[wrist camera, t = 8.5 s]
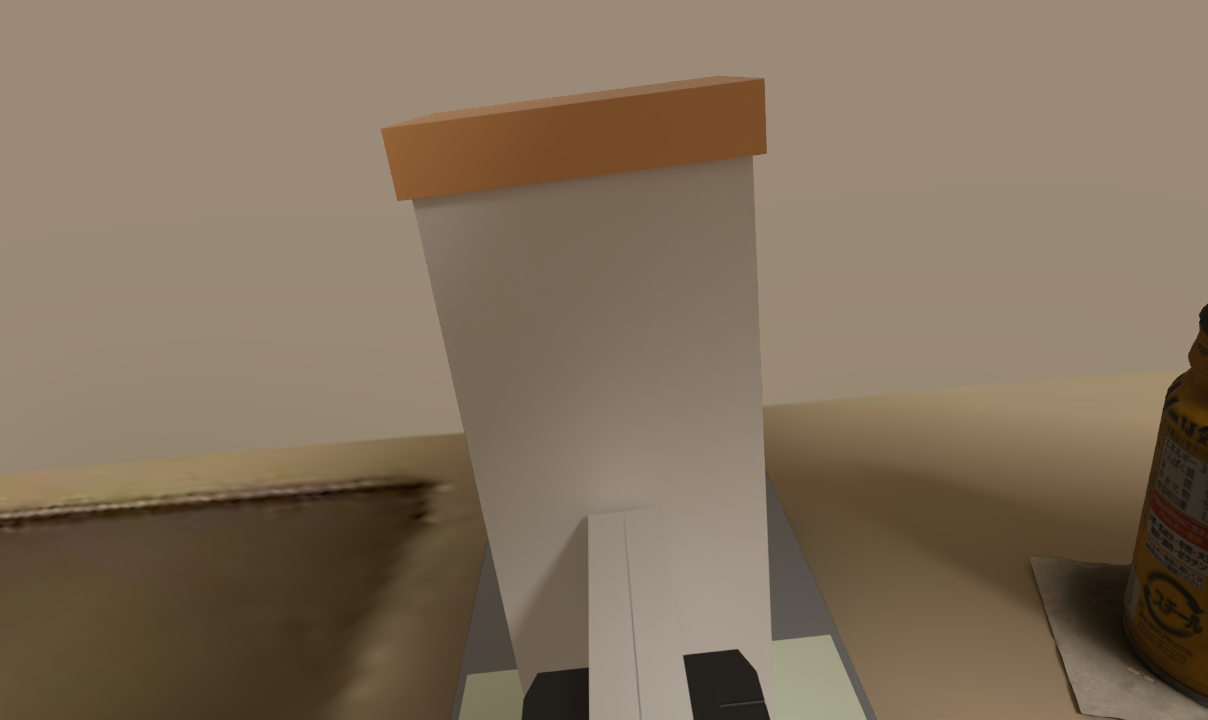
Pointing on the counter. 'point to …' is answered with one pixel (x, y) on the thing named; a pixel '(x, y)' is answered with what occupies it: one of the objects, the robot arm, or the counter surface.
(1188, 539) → the condiment
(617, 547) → the robot arm
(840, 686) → the console
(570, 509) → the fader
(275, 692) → the counter surface
